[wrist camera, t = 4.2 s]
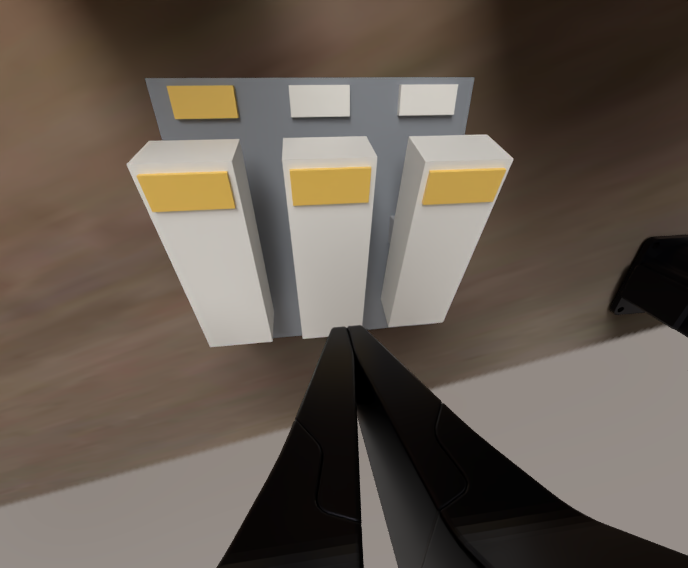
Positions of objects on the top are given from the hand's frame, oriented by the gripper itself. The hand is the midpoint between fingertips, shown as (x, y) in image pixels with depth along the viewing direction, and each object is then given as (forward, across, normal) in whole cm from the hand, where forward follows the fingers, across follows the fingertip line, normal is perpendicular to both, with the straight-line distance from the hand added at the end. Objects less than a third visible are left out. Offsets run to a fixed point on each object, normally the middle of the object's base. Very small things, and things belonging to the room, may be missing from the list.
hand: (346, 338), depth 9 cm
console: (+11, 0, 0) cm, 11 cm away
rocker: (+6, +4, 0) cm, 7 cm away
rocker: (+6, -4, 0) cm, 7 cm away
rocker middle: (+6, 0, 0) cm, 6 cm away
